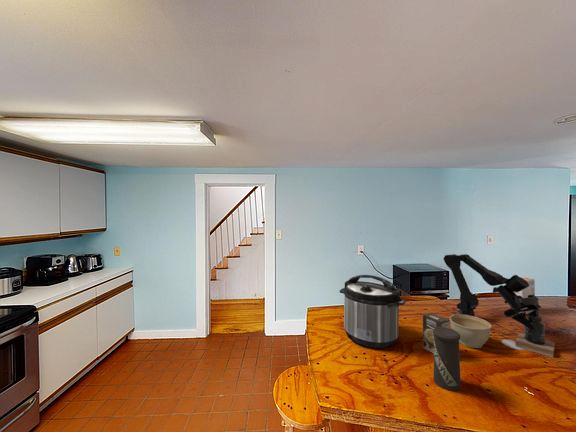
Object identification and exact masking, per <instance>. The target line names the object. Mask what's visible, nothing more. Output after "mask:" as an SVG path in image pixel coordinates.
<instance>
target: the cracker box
mask: <svg viewBox="0 0 576 432" xmlns="http://www.w3.org/2000/svg"><path fill="white" fill-rule="evenodd" d="M522 278H523V279H524V280H526V281H527V282H528V284H529V287H527V288H525V289H523V290H522V291H520V292H515V294H516V295H517V296H521V297H522V298H527V297H528V295H535V296H536V288H535V287H536V286H535V278H529V277H522ZM522 313H523V312H522ZM526 314H527V313H525V315H526Z"/></svg>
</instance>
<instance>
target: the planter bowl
mask: <svg viewBox="0 0 576 432" xmlns="http://www.w3.org/2000/svg"><path fill="white" fill-rule="evenodd" d="M449 320H450V328H451V329H453V330H455V331H457V332H458V333H459V334H460V340H459V344H461V345H463V346H465V347H469V348H472V349H481V348H483V347H484V344H486V342H488V340H489V338H490V336H491V332H492V331H491V330H492V324H491V323H490V322H488V321H487V320H485V319H483V318H480V317H477V316H475V317H473V316H468V315H459V314H453V315H452V314H451V316H449Z"/></svg>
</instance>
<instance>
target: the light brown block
mask: <svg viewBox="0 0 576 432" xmlns="http://www.w3.org/2000/svg"><path fill="white" fill-rule="evenodd" d="M514 341H515V344H516V347H519V348H523V349H526V350H525V351H530V352H534V353H536V354H541V355H543V356H547V357H550V358H554V355H555V347H556V346H555V345H556V344H555V341H551V340H548V339H545V343H544V344H536V343H532V342H529V341H527V340H526V339H525V338H524V333H521V332H519V333H518V335H517V337H516V339H515V340H514Z"/></svg>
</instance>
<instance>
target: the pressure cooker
mask: <svg viewBox="0 0 576 432" xmlns="http://www.w3.org/2000/svg"><path fill="white" fill-rule="evenodd" d="M362 278H363V279H368V278H369V279H374V280H376V281H372V280H371V281H369V280H367V281H366V280H360V279H362ZM339 293H340V294H343V297H344V299H343V301H344V302H343V305H344V306H343V307H344V308H343V309H344V311H343V329H344V331H345V334H346V336H349V337H350V338H351V340H353V341H354V343H357V344H359V345H362V346H366V347H368V348H369V347H370V348H388V347H390V346H391V347H392V346H393V345H394V344H396V342H397V341H398V339H399V335H400V334H399V331H400V330H399V329H400V328H399V324H400V323H399V322H400V321H399V319H400V318H399V316H400V315H399V314H400V313H399V312H400V310H399V309H400V308H399V307H400V306H405V304H406V302H407V301H406V299H404V298H401V289H400V288H397V287H396V286H395V284H393V283H392V282H391V281H389V280H388V279H385V278H383V277H379V276H376V275H373V274H371V275H370V274H359V275H355V276H351V278H349V279H348V280H346V281H345V282H344V287H343V288H341V289H340V290H339Z"/></svg>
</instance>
